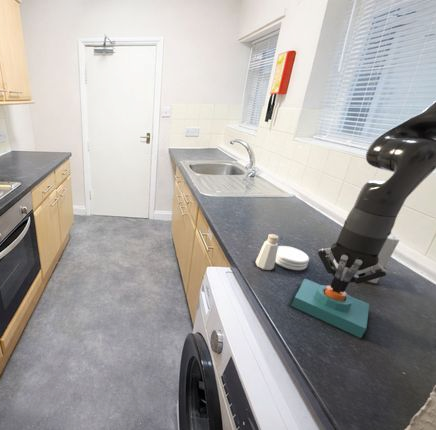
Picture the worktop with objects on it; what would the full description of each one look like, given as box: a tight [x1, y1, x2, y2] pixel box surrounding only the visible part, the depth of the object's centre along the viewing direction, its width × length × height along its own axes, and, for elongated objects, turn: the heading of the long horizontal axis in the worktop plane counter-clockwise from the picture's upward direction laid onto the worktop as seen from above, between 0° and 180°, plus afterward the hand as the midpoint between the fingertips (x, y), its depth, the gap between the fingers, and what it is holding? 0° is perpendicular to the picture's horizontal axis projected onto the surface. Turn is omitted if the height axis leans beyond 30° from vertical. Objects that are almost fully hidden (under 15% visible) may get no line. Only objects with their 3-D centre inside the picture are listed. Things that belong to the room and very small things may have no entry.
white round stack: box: [275, 245, 310, 271], centre depth 87 cm, size 10×10×4 cm
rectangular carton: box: [332, 232, 400, 284], centre depth 80 cm, size 9×9×15 cm
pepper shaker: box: [255, 233, 279, 271], centre depth 83 cm, size 5×5×11 cm
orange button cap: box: [324, 284, 348, 301], centre depth 66 cm, size 4×4×2 cm
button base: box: [291, 278, 370, 339], centre depth 67 cm, size 14×11×5 cm
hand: (336, 290), depth 66 cm, fingers closed
